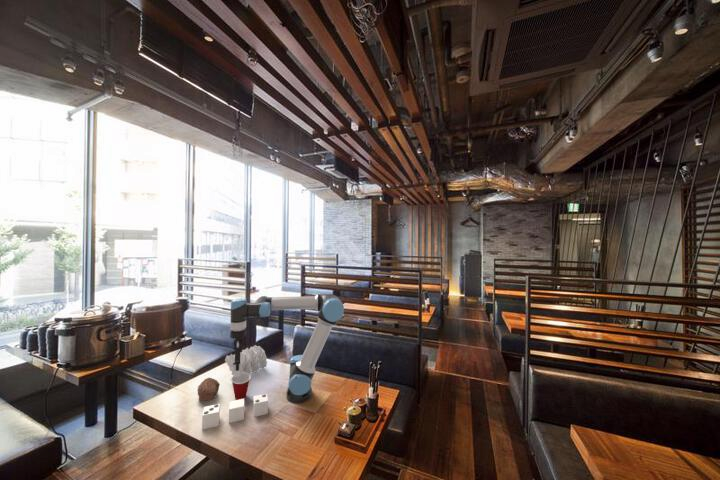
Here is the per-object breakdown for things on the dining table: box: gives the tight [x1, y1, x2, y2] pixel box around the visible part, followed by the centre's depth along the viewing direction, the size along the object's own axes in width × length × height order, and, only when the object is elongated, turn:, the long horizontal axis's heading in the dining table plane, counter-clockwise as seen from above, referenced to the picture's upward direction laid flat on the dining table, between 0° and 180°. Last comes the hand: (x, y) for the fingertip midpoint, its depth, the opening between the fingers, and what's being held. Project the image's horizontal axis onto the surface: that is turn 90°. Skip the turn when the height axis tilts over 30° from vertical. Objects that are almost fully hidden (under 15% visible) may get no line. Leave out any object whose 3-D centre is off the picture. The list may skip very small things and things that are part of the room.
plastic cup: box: [230, 373, 252, 400], centre depth 154 cm, size 11×11×12 cm
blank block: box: [228, 398, 245, 424], centre depth 137 cm, size 7×7×7 cm
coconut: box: [197, 377, 220, 402], centre depth 154 cm, size 13×11×10 cm
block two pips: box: [252, 393, 269, 418], centre depth 142 cm, size 7×7×7 cm
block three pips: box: [201, 403, 221, 430], centre depth 132 cm, size 7×7×7 cm
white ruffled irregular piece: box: [224, 344, 268, 377], centre depth 181 cm, size 18×18×25 cm
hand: (237, 370), depth 137 cm, fingers open, 11 cm apart
